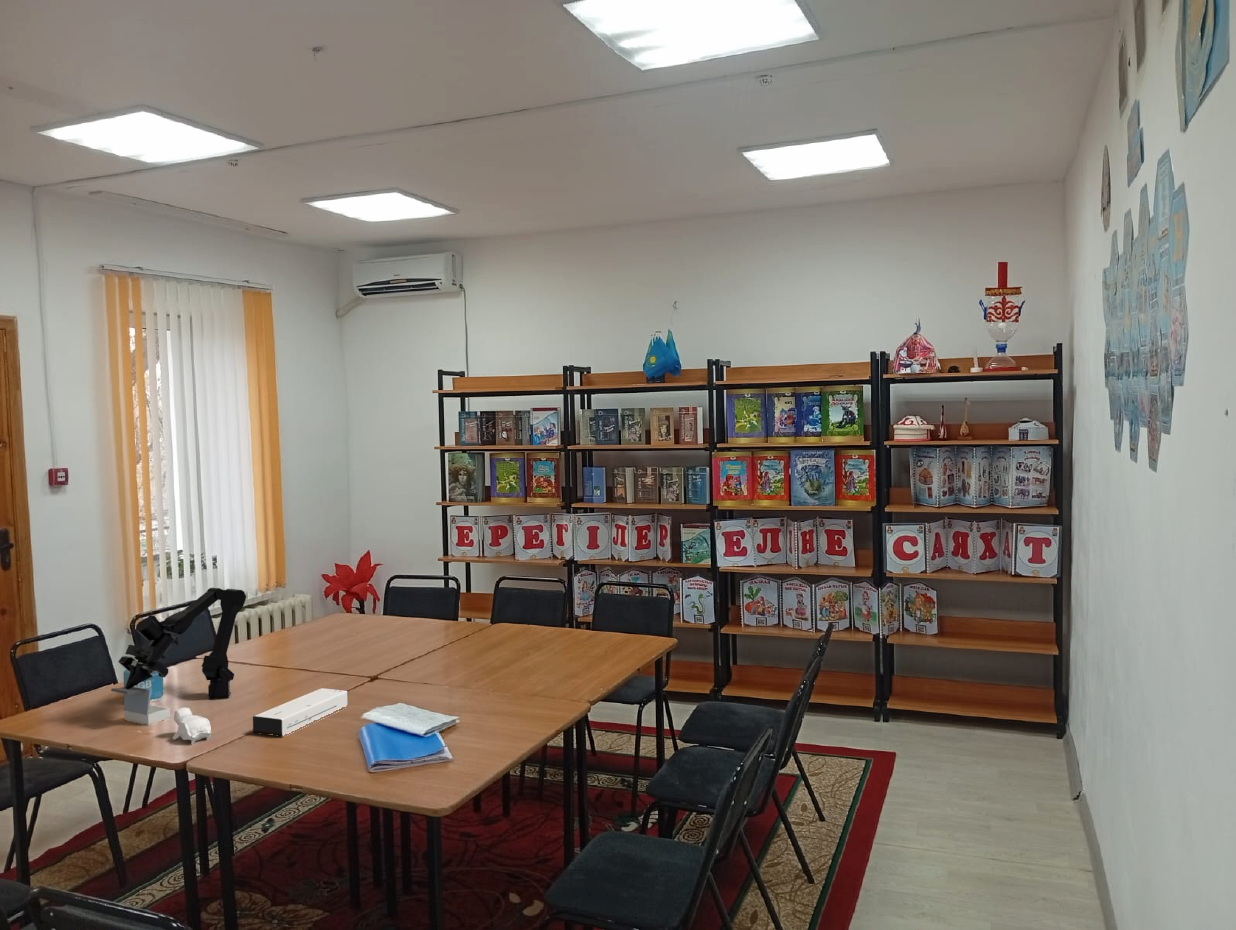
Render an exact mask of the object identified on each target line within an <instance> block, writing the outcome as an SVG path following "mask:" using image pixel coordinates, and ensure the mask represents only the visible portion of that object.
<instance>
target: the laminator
mask: <svg viewBox="0 0 1236 930" xmlns="http://www.w3.org/2000/svg"><path fill="white" fill-rule="evenodd" d="M348 695H349V692H348V690H343V689H335V688H334V689H333V688H325V687H321V688H318V689H316V690H314V691H311V692H309V693H306V694H304V695H302V696H299V697H297V698H294V699H292V700H289V701H287V702H285V703H281V704H280V705H277V706H275V707H272V708H269V709H268V710H266V711H263V712H261V713H258V714H256V715H253V717H252V731H253V734H255V733H261V734H260V735H264V734H273V735H278V736H277V737H279V736H284V735H285V734H289V733H291V732H292V731H295V730H297V729H299V728H300V727H303V726H305V725H306V724H309V723H311V722H313V721H314V720H318V719H320V718H321V717H324V716H326V715H328V714H331V713H333V712H334V711H336V710H339V709H341V708H342V707H346V706H347V705H349V702H348V701H349V700H348V699H349V696H348ZM347 707H348V706H347ZM291 734H292V733H291ZM289 735H290V734H289Z"/></svg>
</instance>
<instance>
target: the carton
mask: <svg viewBox="0 0 1236 930" xmlns="http://www.w3.org/2000/svg"><path fill="white" fill-rule="evenodd" d="M166 719H167V720H170V719H171V708H170V707H165V706H161V705H155V704H149V713H148V715H144V714H139V713H134V712H129V711H125V710H124V721H125V720H129V721H128V722H130V721H132V722H131V723H135V724H139V723H140V724H141V725H144V724H146V725H145V726H151V725H155V724H158V723H160V722H159V721H161V722H163V721H162V720H164V721H167V720H166ZM136 722H137V723H136ZM157 722H158V723H157ZM154 723H155V724H154ZM150 724H151V725H150Z"/></svg>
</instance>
